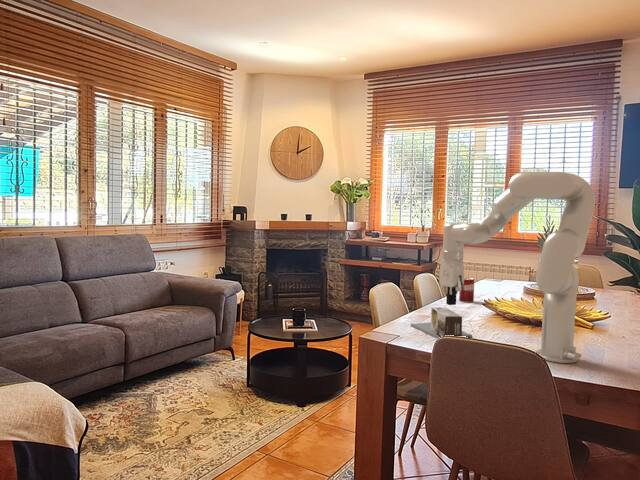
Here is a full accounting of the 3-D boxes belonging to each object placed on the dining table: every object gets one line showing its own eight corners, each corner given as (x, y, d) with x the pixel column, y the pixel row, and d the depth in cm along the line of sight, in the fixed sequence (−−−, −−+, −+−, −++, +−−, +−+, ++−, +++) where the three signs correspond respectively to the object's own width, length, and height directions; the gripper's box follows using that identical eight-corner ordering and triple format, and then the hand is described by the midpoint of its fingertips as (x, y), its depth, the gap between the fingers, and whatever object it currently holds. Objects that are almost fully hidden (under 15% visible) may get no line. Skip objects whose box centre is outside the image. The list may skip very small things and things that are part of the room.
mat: (472, 337, 188) (472, 335, 187) (439, 339, 183) (439, 337, 183) (440, 323, 208) (440, 321, 208) (410, 325, 204) (410, 323, 204)
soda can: (456, 300, 261) (457, 277, 260) (468, 300, 263) (469, 277, 262) (464, 303, 254) (465, 279, 253) (476, 302, 256) (477, 279, 256)
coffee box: (446, 329, 195) (461, 341, 179) (430, 330, 194) (444, 342, 178) (447, 306, 194) (463, 316, 178) (430, 306, 193) (445, 317, 177)
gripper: (433, 254, 193) (432, 301, 194) (455, 258, 179) (453, 309, 180) (450, 253, 195) (448, 300, 197) (473, 258, 181) (471, 308, 182)
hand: (451, 304), depth 188 cm, fingers closed
